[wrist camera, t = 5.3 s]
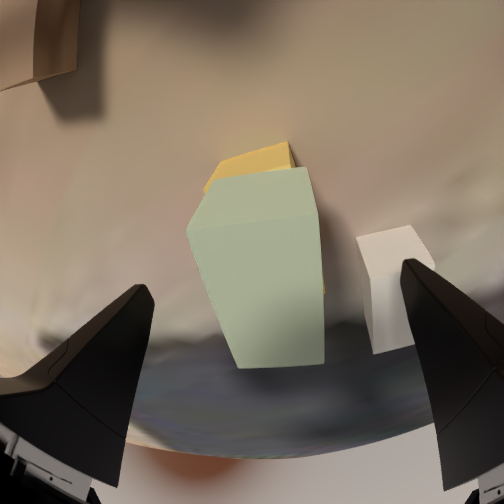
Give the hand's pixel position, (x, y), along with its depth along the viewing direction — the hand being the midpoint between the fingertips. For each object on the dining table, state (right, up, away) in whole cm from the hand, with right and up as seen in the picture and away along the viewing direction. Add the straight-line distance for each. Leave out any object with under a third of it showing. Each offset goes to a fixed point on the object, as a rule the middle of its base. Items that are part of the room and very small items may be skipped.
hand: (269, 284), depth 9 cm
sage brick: (0, +1, +2) cm, 2 cm away
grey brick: (+7, 0, +6) cm, 10 cm away
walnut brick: (-11, +13, -1) cm, 17 cm away
